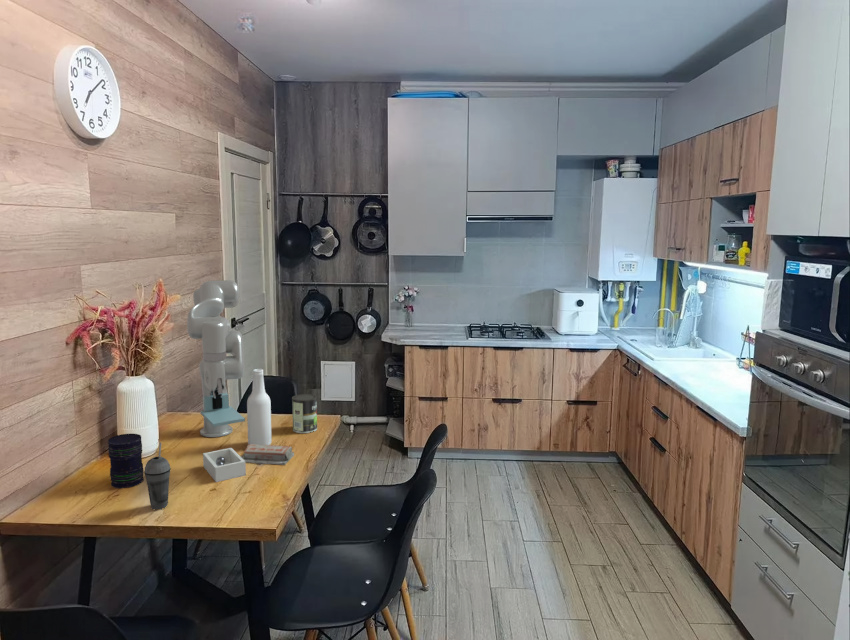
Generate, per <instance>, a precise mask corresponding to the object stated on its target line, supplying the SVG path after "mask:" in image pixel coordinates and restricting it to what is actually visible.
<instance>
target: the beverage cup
mask: <svg viewBox="0 0 850 640" xmlns="http://www.w3.org/2000/svg"><path fill="white" fill-rule="evenodd" d="M158 446H159V447H158V456H154V457H151V458H150V459H149V460H147V462H146V464H145V467H144V473H143V475H144V476H145V479H146V485H147V491H148V497H149V503H150V509H151V508H152V509H151V510H153V509H155V510H154V511H157V510H156V509H161V510H163V509H162V508H164V509H166V508H167V507H168V506H167V505H169V504H168V503H169V489H170V488H169V487H170V475H171V469H172V468H171V466H170V465H171V464H170V463H169V461H168V459H166V457H163V456H161V452H162V442H159V444H158ZM166 506H167V507H166ZM165 507H166V508H165Z"/></svg>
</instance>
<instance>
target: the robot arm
mask: <svg viewBox="0 0 850 640" xmlns="http://www.w3.org/2000/svg"><path fill="white" fill-rule="evenodd" d="M240 293H241V292H240V287H239V285H238V284H237V282H236V281H235V280H230V279H228V280H208V281H205V282H203V283H201V285H200V287H199V288H198V289H195V290H194V291H193V294H192V295H193V297H192V299H193V307H191V309H190V310H189V311H188V313H187V318H186V320H187V321H186V329H187V330H186V331H187V334H188V336H189V337H190V338H191V339H194V340H197V339H198V340H201V346H202V347H201V348H202V359H201V361H200V362H199V365H198V369H199V370H198V371H199V375H200V380H201V389H202V406H203V407H202V411H203V410H204V398H203V397H204V396H211V395H213V398H212V403H213V409H220V408H222V394H224V393H227V394H228V389H227V387H226V380H237V379H238V380H240V379H242V378H243V377H244V376H245V373H246V367H245V366H246V362H245V350H244V348H245V347H244V339H243V335H242V332H240V331H239V330H234V329H233V330H231V322H230V321H229V320H228V318H226V317H224V316H221V314H222V313H223V311H224V309H225V308H226V309H227V308H228V309H230V308H236V307H237V306H238V304H239V300H240ZM227 354H229V356H227ZM232 432H233V426H231V425H230V424H227V425H221V426H216V427H213V426H212V425H211V424H210V423H209V422H208V421H207V420H206V419H205V418H204V417H203V427H202V428H201V429H200V430H199V434H200V436H202V437H205V438H219V437H223V436H227V435H230V434H231V433H232Z"/></svg>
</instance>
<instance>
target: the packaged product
mask: <svg viewBox="0 0 850 640" xmlns="http://www.w3.org/2000/svg"><path fill="white" fill-rule="evenodd" d="M243 451H244V452H243V454H242V455H240V457H241V458H242V459H243V460H245V463H251V464H252V463H253V464H263V465H278V466H280V465H281V466H286V465H287V464H288V463H289V461H290V460H291V459H293V457H294V456H295V452H294V451H293V447H292V446H287V445H275V444H274V445H273V444H270V445H259V444H247V446H246V447H245V449H244V450H243Z"/></svg>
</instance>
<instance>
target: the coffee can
mask: <svg viewBox="0 0 850 640" xmlns="http://www.w3.org/2000/svg"><path fill="white" fill-rule="evenodd" d="M317 399H318V396H317V395H316V394H312V393H302V394H296V395H293V396H292V397H291V402H292V432H294V433H297V434H310V432H311V433H314V432H316V431H317V430H318V400H317ZM313 431H314V432H313Z"/></svg>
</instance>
